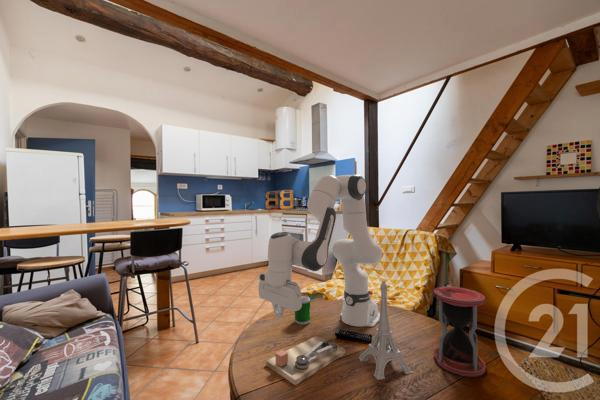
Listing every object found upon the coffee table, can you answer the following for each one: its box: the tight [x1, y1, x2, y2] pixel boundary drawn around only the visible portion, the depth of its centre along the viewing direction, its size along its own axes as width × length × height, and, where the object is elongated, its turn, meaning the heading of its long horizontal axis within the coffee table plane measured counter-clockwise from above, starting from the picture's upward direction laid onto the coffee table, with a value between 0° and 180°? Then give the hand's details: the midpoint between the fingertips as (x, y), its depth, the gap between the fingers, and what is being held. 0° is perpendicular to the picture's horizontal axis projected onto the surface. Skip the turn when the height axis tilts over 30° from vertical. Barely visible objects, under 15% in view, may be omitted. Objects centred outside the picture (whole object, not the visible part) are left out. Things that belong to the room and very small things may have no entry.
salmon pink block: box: [275, 349, 288, 367], centre depth 96 cm, size 3×3×4 cm
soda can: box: [294, 294, 311, 326], centre depth 133 cm, size 8×8×12 cm
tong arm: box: [296, 338, 330, 365], centre depth 101 cm, size 18×4×2 cm, turn 147°
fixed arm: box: [295, 341, 338, 370], centre depth 100 cm, size 19×5×2 cm, turn 128°
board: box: [265, 335, 346, 386], centre depth 102 cm, size 26×15×2 cm, turn 134°
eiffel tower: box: [357, 279, 414, 381], centre depth 98 cm, size 13×13×30 cm
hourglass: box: [432, 286, 486, 378], centre depth 99 cm, size 16×16×25 cm
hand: (278, 316), depth 100 cm, fingers closed
